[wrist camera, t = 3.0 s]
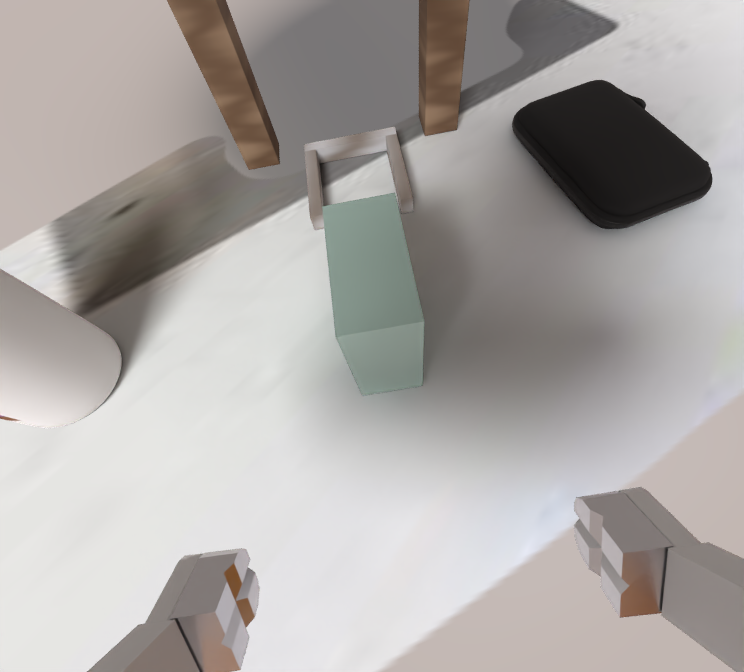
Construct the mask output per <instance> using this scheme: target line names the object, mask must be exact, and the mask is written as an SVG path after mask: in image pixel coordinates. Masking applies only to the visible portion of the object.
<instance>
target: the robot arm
mask: <svg viewBox="0 0 744 672" xmlns="http://www.w3.org/2000/svg"><path fill="white" fill-rule="evenodd" d="M574 511H575V512H576V514H577V515H578V517H579V520H578V521H577V522H576V524H575V525H574V531H575V539H576V543H577V546H578V549H579V551H580V554H581V556H582V558H583V560H584V561H585V563H586V564H587V566H588V568H589V569H590V570H592V571H593V572H595V573H596V574H598V575H599V576H601V589H602V590H603V592H604V593H605V595H606V597H607V598H608V600H609V601H610V603H611V604H612V606H613V608H614V609H615V611H616V612H617V614H618V615H619V617H620V618H621V617H629V616H638V615H648V614H657V613H662V614H661V615H662V616H663V617H664V618H665V619H667V620H668V621H669V622H671V623H672V624H673V625H675V626H676V627H677V628H679V629H680V630H681V631H683V632H684V633H685V634H687V635H688V636H689V637H691V638H692V639H693V640H695V641H696V642H697V643H699V644H700V645H701V646H703V647H704V648H705V649H706V650H708V651H709V652H710V653H712V654H713V655H715V656H716V657H717V658H718V659H720V660H721V661H723V662H724V663H725V664H726V665H728V666H729V667H730V668H732V669H733V670H734V671H736V672H744V559H743V558H741V557H739V556H736V555H734V554H732V553H730V552H728V551H726V550H724V549H722V548H719V547H717V546H715V545H713V544H711V543H700V542H699V541H698V540H697V539H696V538H695V537H694V536H693V535H692V534H691V533H690V532H689V531H688V530H687V529H686V528H685V527H684V526H683V525H682V524H681V523H680V522H679V521H678V520H677V519H676V518H675V517H674V516H673V515H672V514H671V513H670V512H669V511H668V510H667V509H666V508H664V507H663V506H662V505H661V504H660V503H659V502H658V501H657V500H656V499H655V498H654V497H653V496H652V495H651V494H650V493H649V492H648V491H647V490H646V489H644V488H642V487H638V488H632V489H625V490H619V491H613V492H607V493H601V494H595V495H588V496H582V497H576V499H575V502H574ZM249 562H250V557H249V555H248V552H247V550H246V549H242V548H241V549H233V550H225V551H216V552H208V553H204V554H195V555H187V556H184V557H183V558H182V559H181V560H179V562H178V563H177V565H176V567H175V569H174V571H173V573H172V574H171V576H170V578H169V580H168V582H167V584H166V586H165V587H164V589H163V591H162V593H161V595H160V597H159V599H158V600H157V602H156V604H155V606H154V608H153V610H152V611H151V613H150V615H149V617H148V619H147V621H146V623H145V624H140V625H138V626H137V627H136V628H134V629H133V630H132V631H131V632H130V633H129V634H128V635H127V636H126V637H125V638H123V639H122V640H121V641H120V642H119V643H118V644H117V645H116V646H115V647H114V648H113V649H111V650H110V651H109V652H108V653H107V654H106V655H105V656H104V657H103V658H102V659H101V660H99V661H98V662H97V663H96V664H95V665H94V666H93V667H92V668H91V669H90V670H89V671H87V672H231V671H237V670H240V669H241V666H242V662H243V659H244V655H245V651H246V648H247V644H248V641H249V635H248V632H247V630H246V627H247V626H248V625H249V623H250V622H251V621H252V620H253V619H254V617H255V615H256V611H257V607H258V600H259V585H258V579H257V576H256V573H255V572H254V571H252V570H251V569H250V568H248V565H249Z"/></svg>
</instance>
